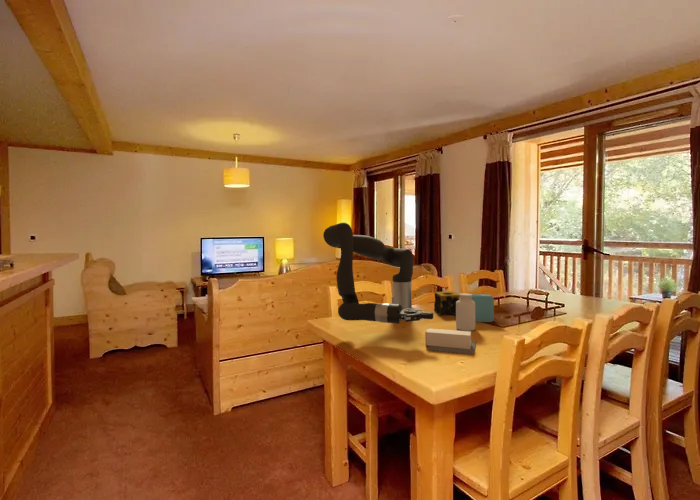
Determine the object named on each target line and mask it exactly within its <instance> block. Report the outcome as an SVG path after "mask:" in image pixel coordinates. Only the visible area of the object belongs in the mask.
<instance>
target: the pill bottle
mask: <svg viewBox="0 0 700 500" xmlns="http://www.w3.org/2000/svg"><path fill="white" fill-rule="evenodd" d="M458 294H459V299H460V300H458V301H457V302H456V315H455V328H456V330H458V331H469V332H473V331H474V330H475V329H476V322H475V302H474V301H472V300H471V299H472V293H467V292H466V293H465V292H464V293H461V292H460V293H458Z"/></svg>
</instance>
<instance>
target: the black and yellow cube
mask: <svg viewBox="0 0 700 500" xmlns="http://www.w3.org/2000/svg"><path fill="white" fill-rule="evenodd" d="M459 294H460V293H456V292H455V291H453V290H452V291H434V305H433V306H434V312H435V313H437V314H438V315H439V316H456V302H457V301H458V300H460V299H459Z"/></svg>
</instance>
